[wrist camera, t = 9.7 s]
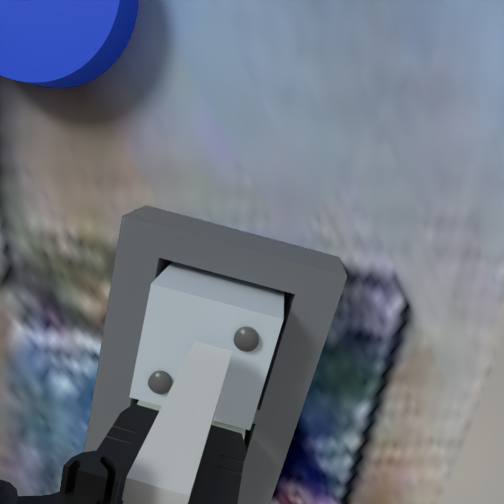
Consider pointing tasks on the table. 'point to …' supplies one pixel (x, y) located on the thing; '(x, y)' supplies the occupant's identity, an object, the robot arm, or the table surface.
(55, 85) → the bracket
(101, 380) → the keypad housing
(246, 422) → the key three
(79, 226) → the table surface
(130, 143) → the table surface
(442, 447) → the table surface
